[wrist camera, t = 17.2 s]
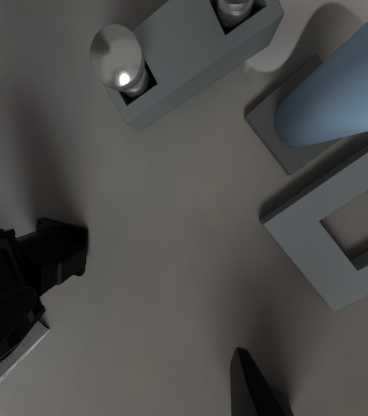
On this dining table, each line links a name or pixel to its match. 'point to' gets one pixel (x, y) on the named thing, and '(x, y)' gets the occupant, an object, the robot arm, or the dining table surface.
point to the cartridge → (329, 98)
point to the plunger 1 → (120, 61)
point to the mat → (264, 123)
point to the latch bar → (191, 53)
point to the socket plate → (324, 232)
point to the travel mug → (283, 402)
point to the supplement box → (22, 349)
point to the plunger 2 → (233, 13)
